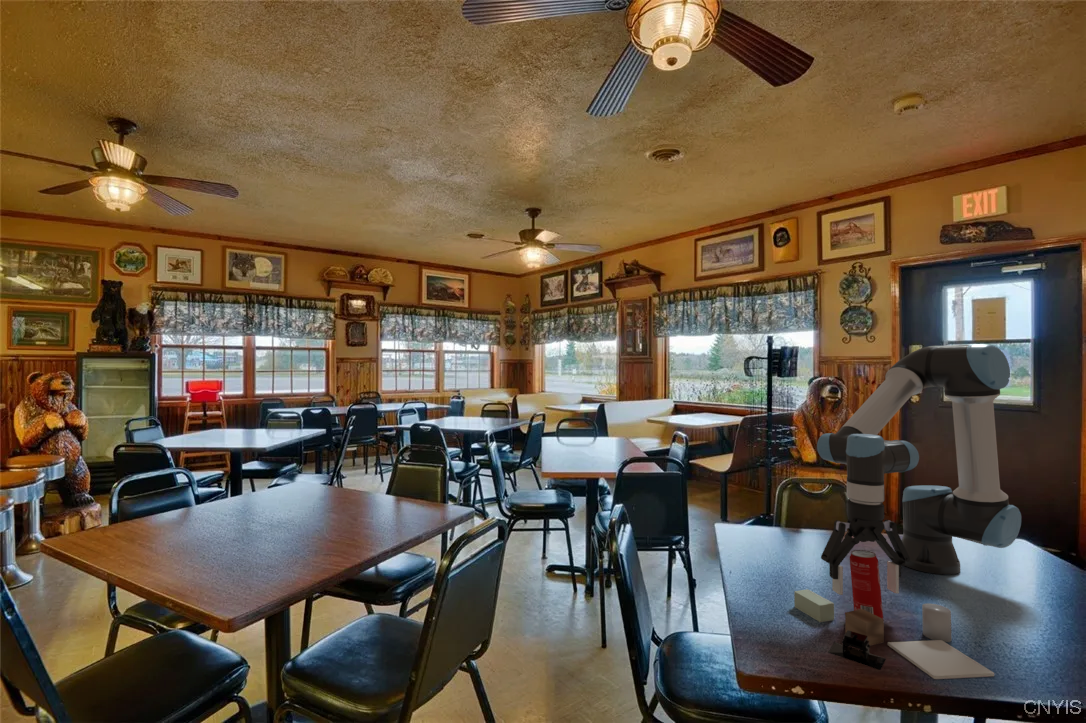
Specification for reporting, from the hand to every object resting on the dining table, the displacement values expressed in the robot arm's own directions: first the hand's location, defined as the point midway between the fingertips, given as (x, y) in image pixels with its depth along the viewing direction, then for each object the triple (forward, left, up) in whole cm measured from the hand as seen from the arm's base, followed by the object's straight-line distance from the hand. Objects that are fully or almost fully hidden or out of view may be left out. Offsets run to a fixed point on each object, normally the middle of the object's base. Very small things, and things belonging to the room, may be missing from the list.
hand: (865, 592), depth 122 cm
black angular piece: (+13, +15, -7) cm, 21 cm away
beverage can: (0, 0, -6) cm, 6 cm away
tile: (-2, +18, -6) cm, 19 cm away
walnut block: (+7, +9, -6) cm, 13 cm away
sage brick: (+11, -3, -6) cm, 13 cm away
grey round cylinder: (-10, +9, -6) cm, 15 cm away
